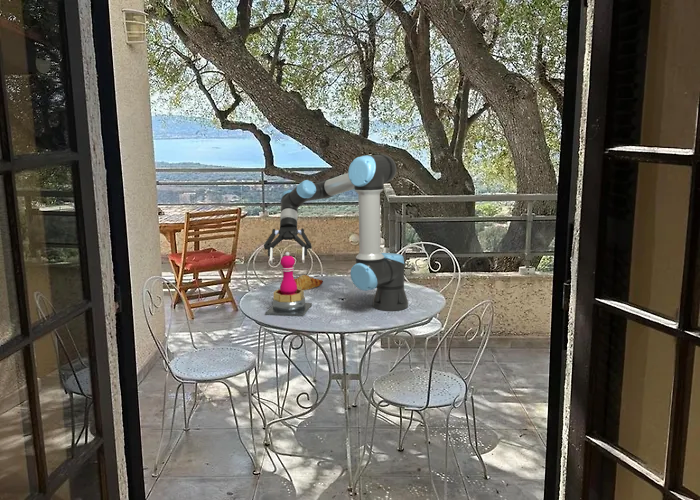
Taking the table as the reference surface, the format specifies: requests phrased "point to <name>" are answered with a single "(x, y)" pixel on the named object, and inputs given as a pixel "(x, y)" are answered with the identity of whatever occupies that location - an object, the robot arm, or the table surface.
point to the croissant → (307, 282)
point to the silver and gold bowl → (289, 304)
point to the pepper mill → (288, 275)
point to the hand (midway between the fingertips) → (287, 261)
